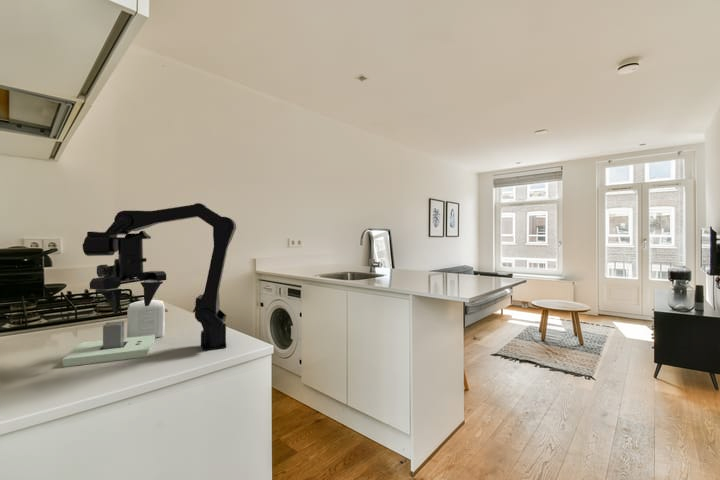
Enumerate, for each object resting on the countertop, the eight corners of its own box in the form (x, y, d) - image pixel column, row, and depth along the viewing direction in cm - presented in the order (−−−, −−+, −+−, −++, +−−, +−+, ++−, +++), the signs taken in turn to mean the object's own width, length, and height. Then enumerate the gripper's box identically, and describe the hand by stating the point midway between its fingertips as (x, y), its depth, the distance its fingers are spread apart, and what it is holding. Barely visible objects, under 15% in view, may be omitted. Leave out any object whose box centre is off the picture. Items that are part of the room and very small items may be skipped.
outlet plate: (155, 339, 104) (155, 332, 104) (147, 356, 89) (147, 348, 89) (84, 346, 96) (84, 339, 96) (62, 366, 82) (62, 358, 82)
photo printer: (164, 333, 110) (164, 297, 110) (165, 337, 106) (165, 299, 106) (127, 338, 104) (127, 300, 104) (126, 342, 101) (126, 302, 100)
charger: (124, 348, 94) (124, 320, 94) (120, 352, 91) (120, 324, 91) (107, 350, 93) (107, 322, 93) (102, 355, 89) (103, 325, 89)
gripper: (139, 252, 103) (140, 301, 103) (73, 257, 85) (75, 315, 86) (167, 253, 100) (168, 303, 100) (104, 257, 82) (106, 318, 82)
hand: (132, 309), depth 92 cm, fingers open, 9 cm apart
